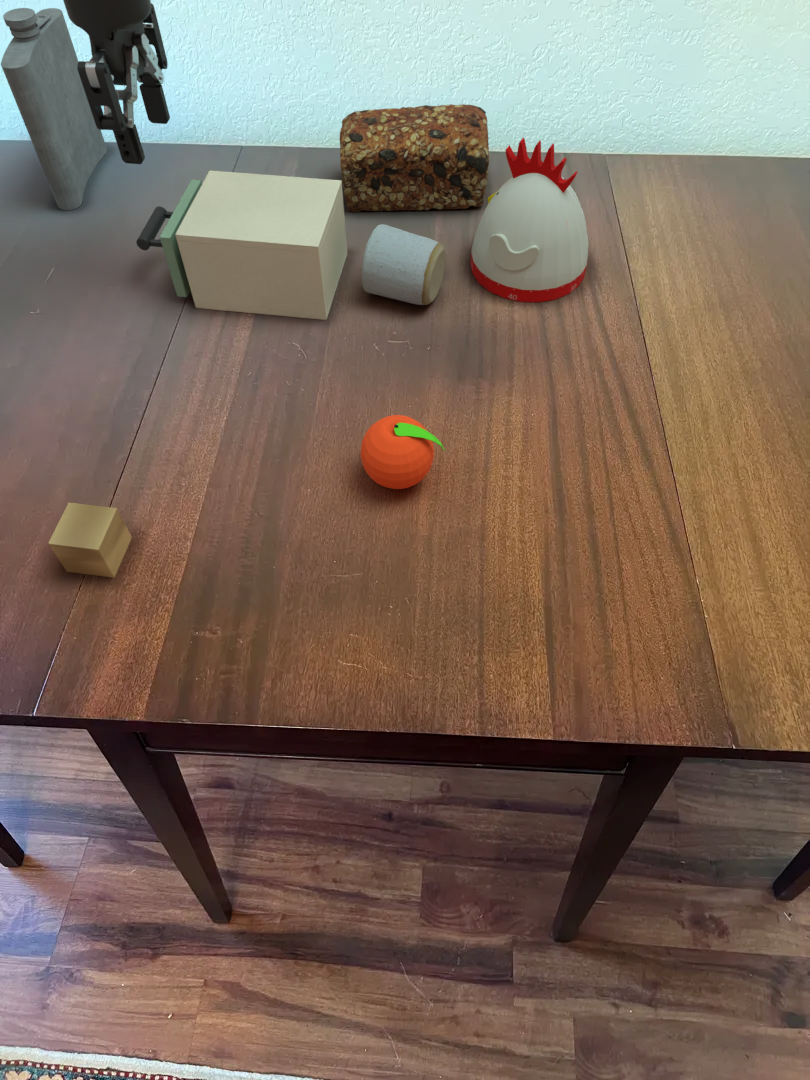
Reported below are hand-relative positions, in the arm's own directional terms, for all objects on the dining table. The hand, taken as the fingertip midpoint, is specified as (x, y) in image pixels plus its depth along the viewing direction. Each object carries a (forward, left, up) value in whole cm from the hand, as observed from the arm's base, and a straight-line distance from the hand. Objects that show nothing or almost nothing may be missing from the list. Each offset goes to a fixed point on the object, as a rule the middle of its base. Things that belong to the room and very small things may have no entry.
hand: (147, 141), depth 82 cm
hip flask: (-21, +18, -16) cm, 32 cm away
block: (+5, -41, -16) cm, 44 cm away
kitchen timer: (+41, +7, -16) cm, 45 cm away
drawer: (+6, 0, -15) cm, 16 cm away
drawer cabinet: (+11, 0, -16) cm, 20 cm away
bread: (+25, +21, -16) cm, 37 cm away
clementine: (+31, -28, -16) cm, 45 cm away
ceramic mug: (+27, +1, -16) cm, 32 cm away
